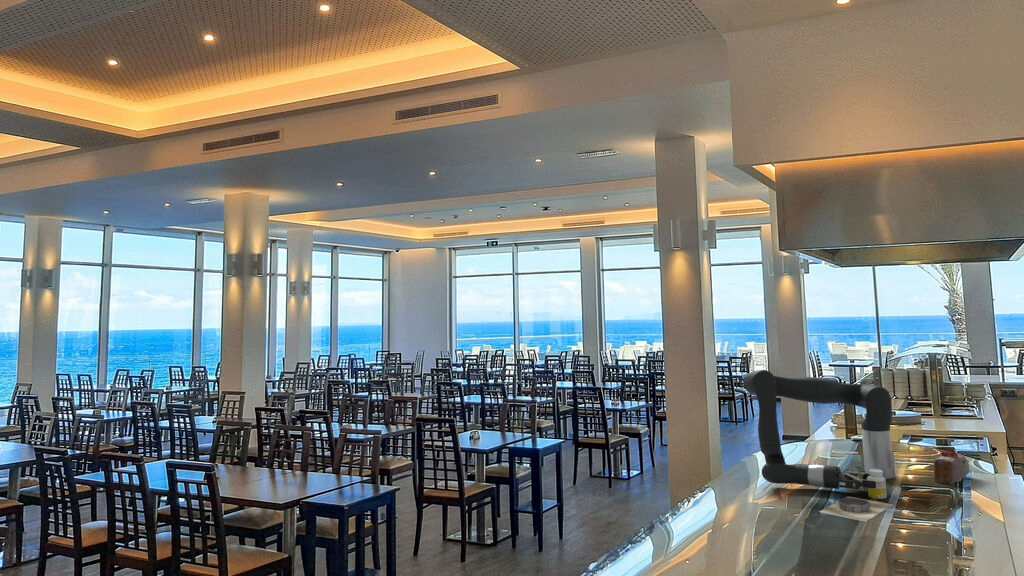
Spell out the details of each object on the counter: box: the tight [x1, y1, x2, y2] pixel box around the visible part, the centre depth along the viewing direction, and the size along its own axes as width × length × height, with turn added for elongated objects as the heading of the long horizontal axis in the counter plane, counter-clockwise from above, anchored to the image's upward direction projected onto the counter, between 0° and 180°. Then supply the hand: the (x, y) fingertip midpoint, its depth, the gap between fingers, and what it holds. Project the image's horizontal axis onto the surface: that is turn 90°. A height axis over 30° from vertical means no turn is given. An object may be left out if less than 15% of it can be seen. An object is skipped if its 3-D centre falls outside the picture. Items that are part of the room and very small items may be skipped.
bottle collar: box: [837, 497, 870, 513], centre depth 209 cm, size 9×9×2 cm
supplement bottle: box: [867, 469, 887, 500], centre depth 219 cm, size 5×5×10 cm
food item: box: [933, 451, 970, 484], centre depth 235 cm, size 14×8×10 cm, turn 129°
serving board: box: [818, 495, 893, 523], centre depth 209 cm, size 20×14×1 cm
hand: (877, 481), depth 219 cm, fingers open, 8 cm apart
